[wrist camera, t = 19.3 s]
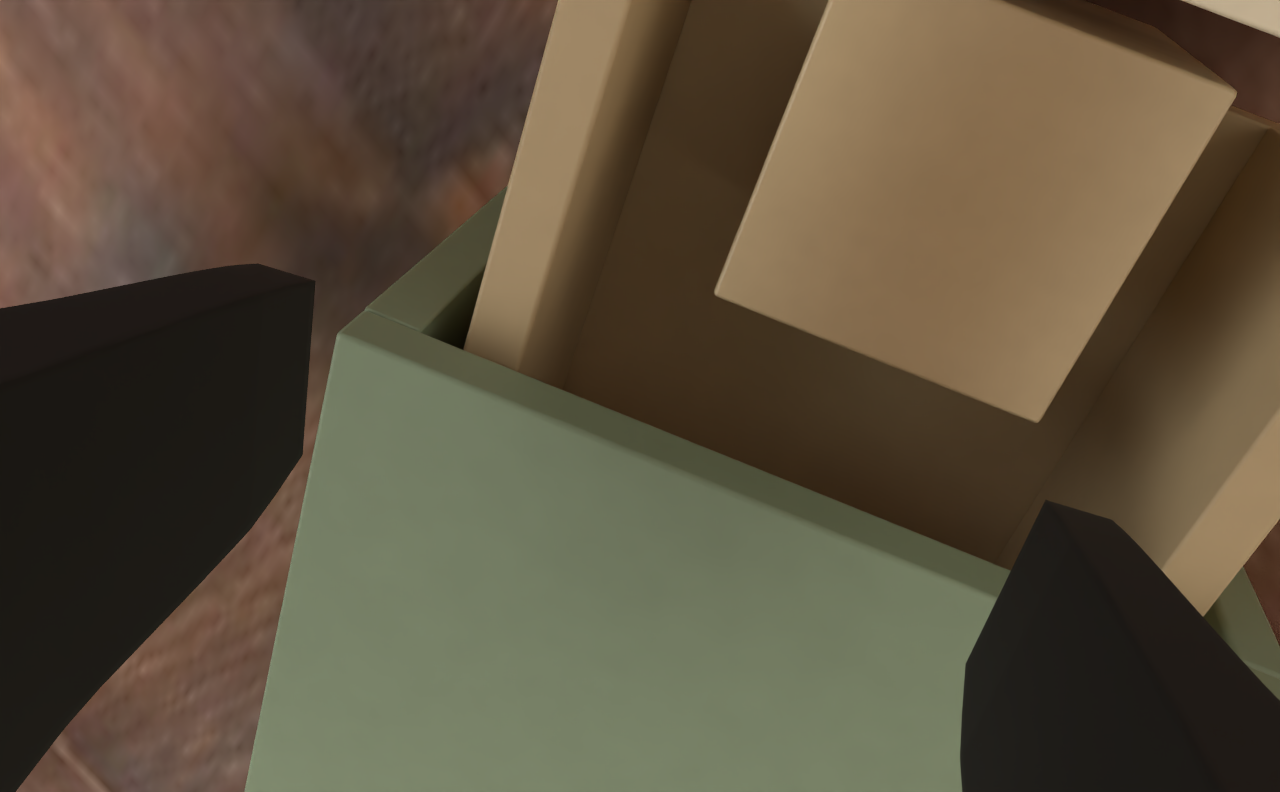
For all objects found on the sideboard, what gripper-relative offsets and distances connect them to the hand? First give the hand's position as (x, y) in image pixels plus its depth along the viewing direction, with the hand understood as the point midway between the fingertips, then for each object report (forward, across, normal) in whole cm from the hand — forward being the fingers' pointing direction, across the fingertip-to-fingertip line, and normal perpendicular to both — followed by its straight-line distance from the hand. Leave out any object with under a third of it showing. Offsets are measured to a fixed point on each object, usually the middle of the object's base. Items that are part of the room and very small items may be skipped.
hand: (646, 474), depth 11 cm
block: (+8, -2, -2) cm, 9 cm away
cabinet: (+10, -1, +9) cm, 14 cm away
